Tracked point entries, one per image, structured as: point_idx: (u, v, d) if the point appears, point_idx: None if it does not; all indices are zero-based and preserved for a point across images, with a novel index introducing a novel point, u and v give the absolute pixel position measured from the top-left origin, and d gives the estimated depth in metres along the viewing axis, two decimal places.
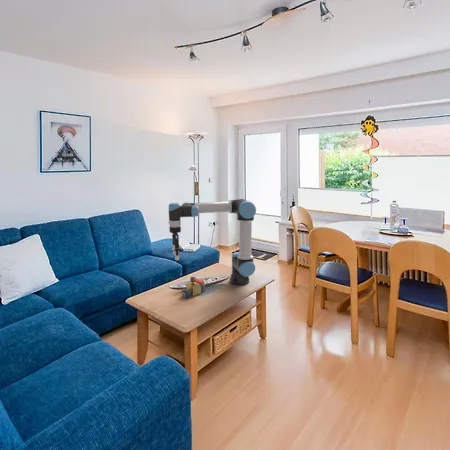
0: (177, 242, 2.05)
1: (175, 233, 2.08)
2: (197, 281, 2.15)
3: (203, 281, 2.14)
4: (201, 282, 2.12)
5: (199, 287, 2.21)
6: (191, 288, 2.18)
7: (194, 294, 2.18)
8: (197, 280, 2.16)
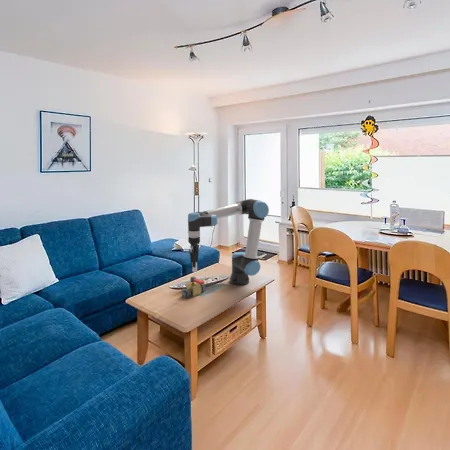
0: (192, 255, 2.03)
1: (191, 244, 2.03)
2: (197, 281, 2.15)
3: (203, 281, 2.14)
4: (201, 282, 2.12)
5: (199, 287, 2.21)
6: (191, 288, 2.18)
7: (194, 294, 2.18)
8: (197, 280, 2.16)
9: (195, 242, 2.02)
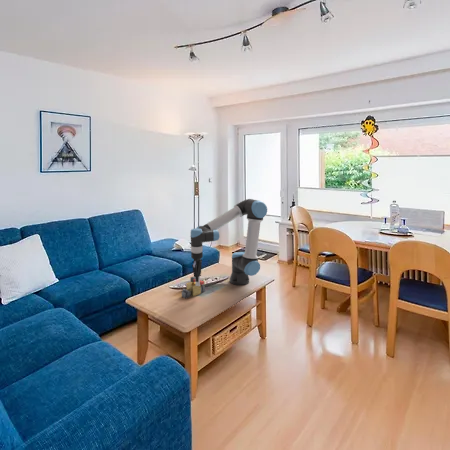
0: (195, 271, 2.06)
1: (194, 259, 2.06)
2: None
3: (203, 281, 2.14)
4: (201, 282, 2.12)
5: (199, 287, 2.21)
6: (191, 288, 2.18)
7: (194, 294, 2.18)
8: None
9: (198, 257, 2.06)
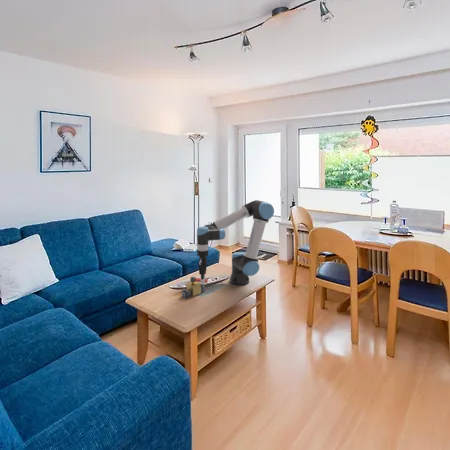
0: (201, 268, 2.10)
1: (200, 257, 2.10)
2: (200, 280, 2.17)
3: (206, 279, 2.18)
4: (206, 280, 2.16)
5: (199, 287, 2.21)
6: (191, 288, 2.18)
7: (194, 294, 2.18)
8: (200, 279, 2.18)
9: (204, 255, 2.09)
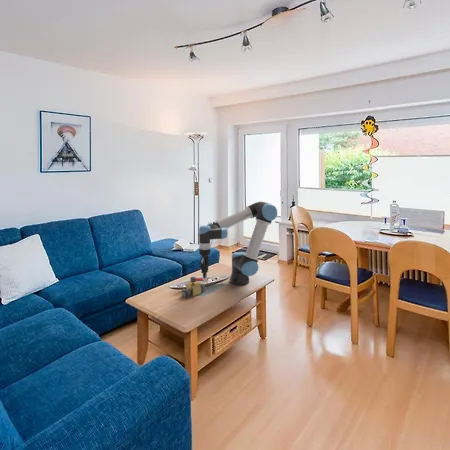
0: (203, 267, 2.12)
1: (202, 255, 2.12)
2: (201, 279, 2.19)
3: None
4: (207, 278, 2.19)
5: (199, 287, 2.21)
6: (191, 288, 2.18)
7: (194, 294, 2.18)
8: (200, 278, 2.19)
9: (206, 254, 2.12)
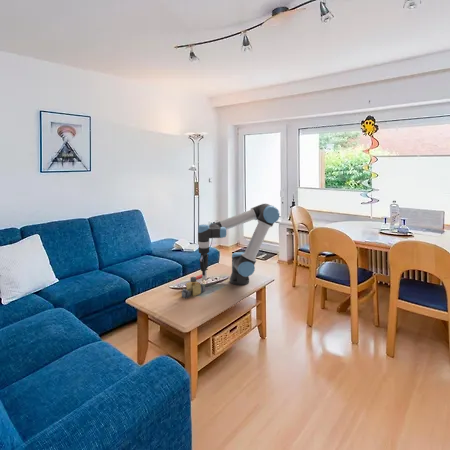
0: (202, 264, 2.17)
1: (201, 254, 2.17)
2: (200, 276, 2.24)
3: None
4: None
5: (199, 287, 2.21)
6: (191, 288, 2.18)
7: (194, 294, 2.18)
8: (199, 276, 2.24)
9: (205, 252, 2.17)
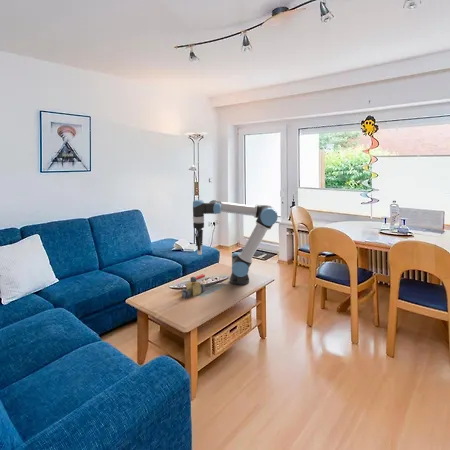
0: (197, 239, 2.20)
1: (197, 228, 2.20)
2: (200, 276, 2.24)
3: (202, 274, 2.28)
4: None
5: (199, 287, 2.21)
6: (191, 288, 2.18)
7: (194, 294, 2.18)
8: (199, 276, 2.24)
9: (200, 227, 2.20)
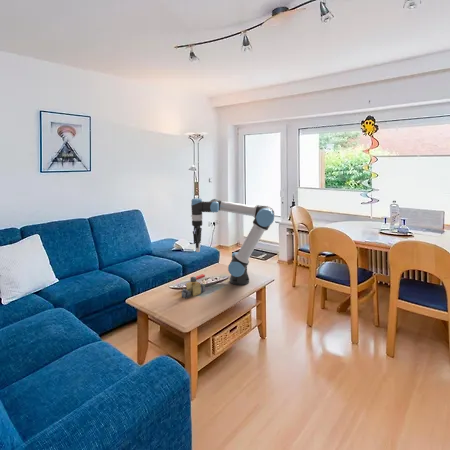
0: (195, 237, 2.25)
1: (195, 226, 2.25)
2: (200, 276, 2.24)
3: (202, 274, 2.28)
4: None
5: (199, 287, 2.21)
6: (191, 288, 2.18)
7: (194, 294, 2.18)
8: (199, 276, 2.24)
9: (198, 225, 2.24)
